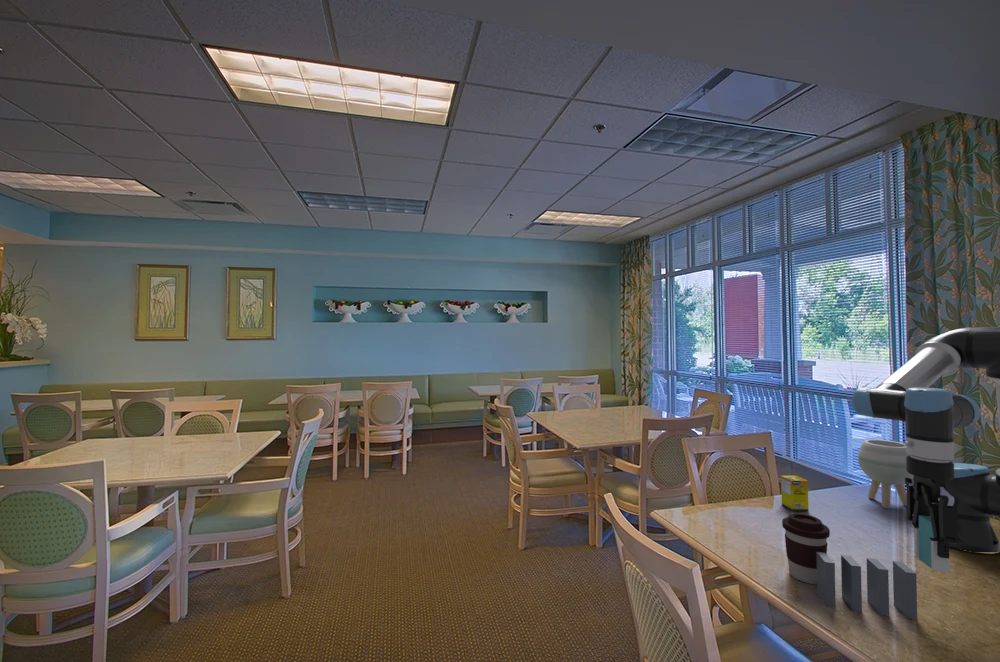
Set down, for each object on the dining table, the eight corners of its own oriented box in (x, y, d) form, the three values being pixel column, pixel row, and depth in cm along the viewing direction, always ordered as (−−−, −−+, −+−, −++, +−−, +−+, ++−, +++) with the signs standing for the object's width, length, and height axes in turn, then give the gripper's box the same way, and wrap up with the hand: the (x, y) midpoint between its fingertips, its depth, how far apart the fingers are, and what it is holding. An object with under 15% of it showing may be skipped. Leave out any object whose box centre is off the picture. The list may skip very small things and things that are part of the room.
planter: (885, 513, 150) (884, 449, 150) (848, 496, 166) (846, 438, 166) (931, 512, 150) (929, 448, 150) (889, 496, 166) (887, 438, 167)
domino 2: (851, 598, 101) (850, 555, 101) (862, 611, 96) (861, 566, 96) (841, 597, 101) (841, 554, 101) (852, 610, 96) (851, 565, 97)
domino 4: (903, 606, 98) (902, 562, 98) (917, 620, 93) (916, 573, 93) (893, 604, 98) (892, 560, 98) (907, 618, 93) (906, 572, 94)
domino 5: (929, 560, 96) (928, 515, 97) (944, 572, 92) (943, 525, 92) (919, 559, 97) (918, 515, 97) (934, 570, 92) (933, 524, 92)
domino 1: (825, 595, 102) (825, 552, 102) (835, 607, 97) (834, 563, 98) (817, 593, 103) (816, 551, 103) (826, 606, 98) (825, 562, 98)
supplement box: (809, 511, 152) (808, 480, 152) (792, 511, 152) (791, 480, 152) (797, 505, 157) (797, 475, 158) (781, 505, 158) (780, 475, 158)
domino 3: (876, 602, 99) (875, 558, 99) (889, 615, 94) (888, 569, 95) (867, 601, 100) (866, 557, 100) (879, 614, 95) (878, 568, 95)
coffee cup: (833, 592, 103) (831, 530, 103) (783, 580, 108) (782, 520, 109) (828, 573, 111) (827, 515, 112) (782, 563, 117) (781, 507, 117)
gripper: (885, 447, 105) (887, 543, 104) (935, 468, 87) (938, 583, 87) (923, 449, 102) (926, 548, 102) (983, 471, 85) (986, 590, 85)
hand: (931, 564), depth 94 cm, fingers closed on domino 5, 5 cm apart
